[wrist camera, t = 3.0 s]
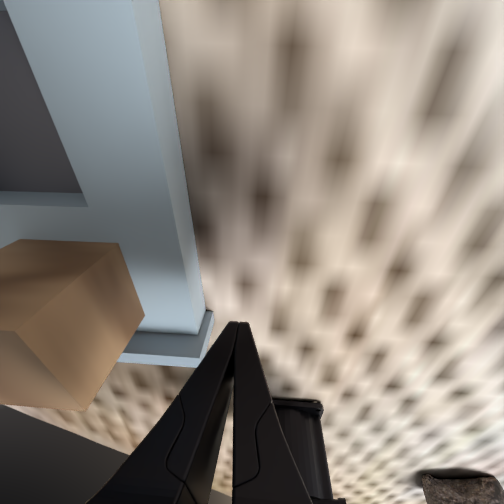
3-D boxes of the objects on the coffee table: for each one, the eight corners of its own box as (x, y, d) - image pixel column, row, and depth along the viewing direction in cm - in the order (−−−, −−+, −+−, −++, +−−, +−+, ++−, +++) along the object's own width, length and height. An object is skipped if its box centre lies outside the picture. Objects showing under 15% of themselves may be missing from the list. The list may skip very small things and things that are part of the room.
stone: (446, 429, 31) (416, 501, 27) (538, 497, 25) (518, 602, 21) (425, 443, 37) (398, 503, 33) (494, 499, 31) (472, 581, 27)
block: (118, 242, 10) (14, 331, 6) (145, 315, 13) (85, 411, 9) (19, 238, 11) (-144, 320, 6) (65, 310, 13) (-29, 401, 9)
